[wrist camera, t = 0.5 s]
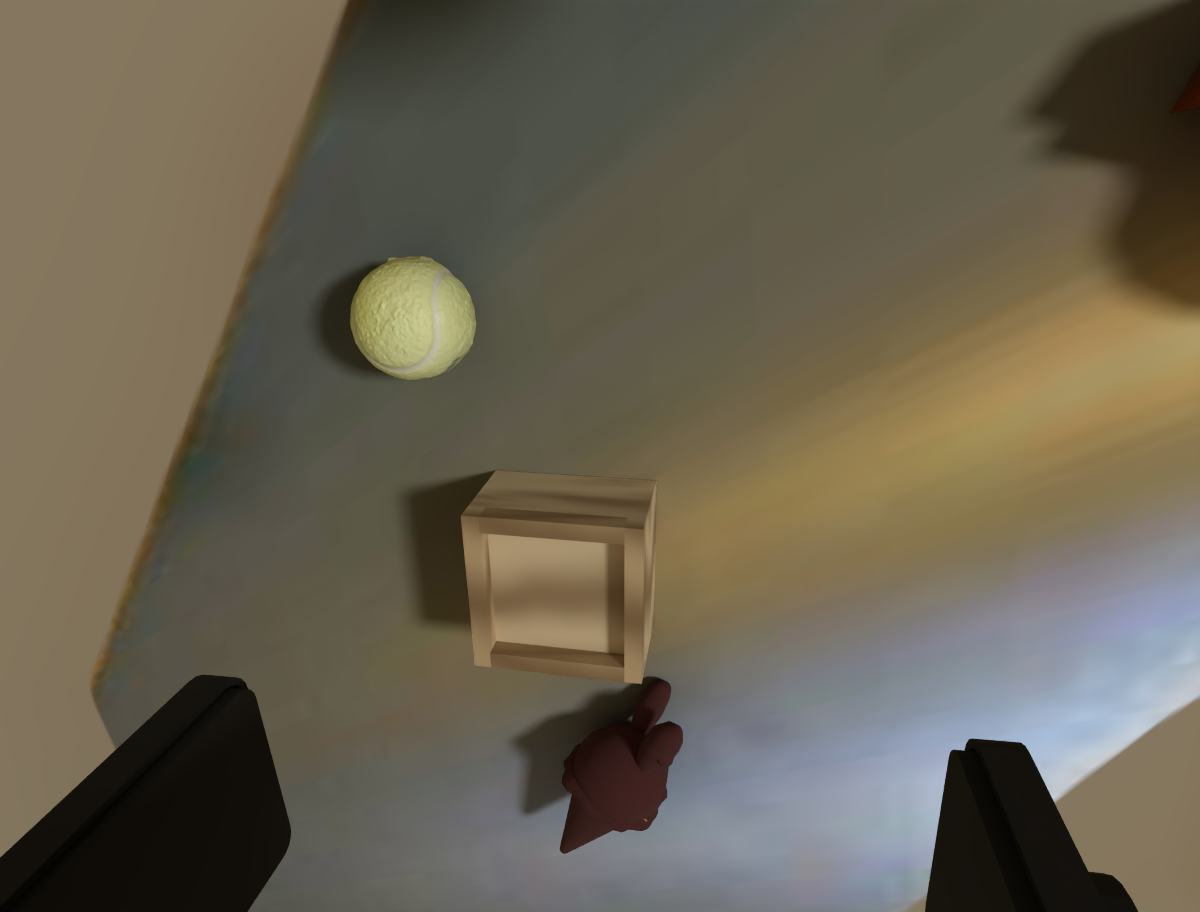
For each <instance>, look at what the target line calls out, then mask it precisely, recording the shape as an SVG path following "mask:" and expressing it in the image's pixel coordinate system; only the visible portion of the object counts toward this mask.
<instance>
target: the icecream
mask: <svg viewBox="0 0 1200 912" xmlns="http://www.w3.org/2000/svg"><path fill="white" fill-rule="evenodd" d="M670 694H671V686H670V684H669V683H668V682H666V681H664V680H658V681H655V682H652V683H651V684H650V685H649V686H648V687H647V688H646V689H645V690H644V691H643V692H642V693H641V695H640V697H639V700H638V702H637V704H636V707H635V709H634V712H633V717H632V722H631V724H630V723H617V724H614V725H610V726H607V727H604V728H602V729H599V730H597V731H594V732H592V733H591V734H590V735H589V736H588V737H587V738H586V739H585V740H584V741H583V742H582V743H581V744H578V745H577V746H576V747H575V748H574V749H573V751H572V752H571V754H570V756H569V757H568V758H567V759H566V760H565V761H564V767H565V771H564V774H563V777H562V784H563V785H564V787H565V788H566V790H567V791H569V792H570V793H572V796H571V801H570V805H569V810H568V814H567V819H566V823H565V828H564V832H563V836H562V840H561V845H560V851H561V852H562V853H563V854H565V853H568V852H570V851H572V850H574V849H576V848H578V847H580V846H582V845H584V844H586V843H588V842H590V841H592V840H594V839H596V838H598V837H600V836H603V835H605V834H607V833H609V832H611V831H613V830H615V831H619V832H624V831H626V830H637V831H643V830H647V829H648V828H649V827H650V825H651V823H652V821H653V820H654V819H655V818H656V816H657V814H658V808H659V806H660V805H661V803H662V802H663V801H664V800H665V799H666V798H667V789H666V783H667V776H668V768H669V767H668V766H670V765H671V764H672V762H673V759H674V757H675V755H676V754H677V753H678V752H679V750H680V748H681V746H682V743H683V731H682V729H681V727H680V726H679V725H677V724H675V723H672V722H670V721H668V722H665V723H661V724H658V725H655V724H656V723H657V721H658V720H659V718H660V717H661V716H662V714H663V712H664V710H665V707H666V705H667V703H668V701H669V698H670ZM654 725H655V726H654Z"/></svg>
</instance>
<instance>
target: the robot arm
mask: <svg viewBox="0 0 1200 912" xmlns="http://www.w3.org/2000/svg"><path fill="white" fill-rule="evenodd" d="M290 838H291V827H290V823H289V819H288V815H287V811H286V808H285V804H284V800H283V796H282V793H281V789H280V785H279V781H278V778H277V774H276V770H275V767H274V763H273V759H272V755H271V752H270V748H269V744H268V740H267V737H266V733H265V729H264V725H263V722H262V718H261V714H260V710H259V707H258V703H257V699H256V696H255V694H254V692H253V691H251V690H249V689H248V687H247V685H246V683H245V682H244V681H243V680H242V679H241V678H236V677H225V676H213V675H200V676H196V677H195V678H193V679H192V680H191V681H189V682H188V683H187V684H186V685H185V686H184V687H183V688H182V689H181V690H180V691H178V692H177V693H176V694H175V695H174V696H173V697H172V698H171V699H170V700H169V701H168V702H167V703H166V704H165V705H163V706H162V707H161V708H160V709H159V710H158V711H157V712H156V713H155V714H154V715H153V716H152V717H151V718H150V719H148V720H147V721H146V722H145V723H144V724H143V725H142V726H141V727H140V728H139V729H138V730H137V731H136V732H135V733H133V734H132V735H131V736H130V737H129V738H128V739H127V740H126V741H125V742H124V743H123V744H122V745H121V746H119V747H118V748H117V749H116V750H115V751H114V752H113V753H112V754H111V755H110V756H109V757H108V758H107V759H106V760H105V761H104V762H102V763H101V764H100V765H99V766H98V767H97V768H96V769H95V770H94V771H93V772H92V773H91V774H89V775H88V776H87V777H86V778H85V779H84V780H83V781H82V782H81V783H80V784H79V785H78V786H77V787H76V788H75V789H73V790H72V791H71V792H70V793H69V794H68V795H67V796H66V797H65V798H64V799H63V800H62V801H60V802H59V803H58V804H57V805H56V806H55V807H54V808H53V809H52V810H51V811H50V812H49V813H48V814H47V815H45V817H43V818H42V819H41V820H40V821H39V822H38V823H37V824H36V825H35V826H34V827H33V828H32V829H31V830H29V831H28V832H27V833H26V834H25V835H24V836H23V837H22V838H21V839H20V840H19V841H18V842H17V843H16V844H14V845H13V846H12V848H10V849H9V850H8V851H7V852H6V853H5V854H4V855H3V856H1V857H0V912H248V910H249V909H250V907H251V905H252V904H253V902H254V901H255V899H256V898H257V896H258V895H259V893H260V892H261V890H262V889H263V887H264V886H265V884H266V883H267V881H268V880H269V878H270V877H271V875H272V874H273V872H274V871H275V869H276V868H277V866H278V865H279V863H280V862H281V860H282V859H283V857H284V855H285V853H286V851H287V849H288V846H289V843H290ZM925 912H1138V910H1137V908H1136V907H1135V905H1134V903H1133V901H1132V899H1131V898H1130V896H1129V895H1128V893H1127V891H1126V890H1125V888H1124V887H1123V885H1122V884H1121V883H1120V882H1119V881H1118V880H1117V879H1116V878H1114V877H1113V876H1112V875H1107V874H1104V873H1095V872H1088V870H1087V868H1086V866H1085V864H1084V862H1083V860H1082V858H1081V856H1080V854H1079V852H1078V850H1077V848H1076V846H1075V844H1074V842H1073V840H1072V838H1071V836H1070V834H1069V832H1068V830H1067V828H1066V826H1065V824H1064V822H1063V820H1062V818H1061V815H1060V813H1059V811H1058V810H1057V807H1056V805H1055V803H1054V801H1053V799H1052V797H1051V795H1050V793H1049V791H1048V789H1047V787H1046V785H1045V783H1044V781H1043V779H1042V777H1041V775H1040V773H1039V771H1038V769H1037V767H1036V765H1035V763H1034V761H1033V759H1032V757H1031V755H1030V753H1029V751H1028V750H1027V748H1026V746H1025V745H1023V744H1022V743H1019V742H1007V741H995V740H983V739H969V740H968V742H967V743H966V747H965V751H962V750H952V751H951V752H950V755H949V760H948V766H947V772H946V779H945V785H944V792H943V798H942V804H941V811H940V817H939V823H938V830H937V836H936V843H935V849H934V855H933V862H932V868H931V874H930V881H929V887H928V893H927V900H926V908H925Z"/></svg>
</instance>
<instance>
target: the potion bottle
mask: <svg viewBox="0 0 1200 912" xmlns="http://www.w3.org/2000/svg"><path fill="white" fill-rule="evenodd" d="M1196 108H1200V65H1199V66H1198V68H1197V70H1196V71H1195V73H1194V75H1193V76H1192V78H1191V80H1190V81H1189V83H1188V85H1187V86H1186V88H1185V90H1184V91H1183V93H1182V95H1181V96H1180V98H1179V100H1178V101H1177V103H1176V105H1175V106H1174V108H1173V110H1172V111H1171V113H1175V112H1180V111H1186V110H1191V109H1196Z"/></svg>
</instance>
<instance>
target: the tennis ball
mask: <svg viewBox="0 0 1200 912" xmlns="http://www.w3.org/2000/svg"><path fill="white" fill-rule="evenodd" d="M350 316H351V318H350V326H351V330H352V333H353V337H354V339H355V343H356V344H357V346H358V348H359V349H360V351H361V352H362V354H363V355H364V356H365V357H366V358H367V360H368V361H369V362H371V363H372V364H373V365H374V366H375V367H376V368H377V369H379V370H381V371H383V372H385V373H387V374H389V375H391V376H394V377H396V378H400V379H407V380H419V379H428V378H433V377H436V376H439V375H442V374H444V373H446V372H448V371H449V370H450V369H452V368H453V367H454V366H455V365H456V364H457V363H459V362H460V361H461V359H462V358H463V357H465V355H466V354H467V352H469V349H470V347H471V345H472V344H473V338H474V334H475V330H476V319H475V310H474V306H473V304H472V300H471V297H470V295H469V293H468V291H467V289H466V288H465V287H464V285H463V284H462V283H461V282H460V280H458V279H457V278H455V277H454V276H453V275H452V274H451V272H450V271H449V270H448V269H447V268H445V267H444V266H442V265H441V264H439V263H437V262H435V261H433V259H431V258H427V257H424V256H418V257H406V258H394V257H393V258H389V259H388V261H387V262H386V263H385V264H382V265H381V266H379V267H378V268H376V269H374V270H373V271H371V272H370V273H369V274H368V275H367V276H366V277H364V279H363V280H362V281H361V283H360V285H359V287H358V290H357V291H356V293H355V294H354V297H353V301H352V304H351V314H350Z"/></svg>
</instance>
